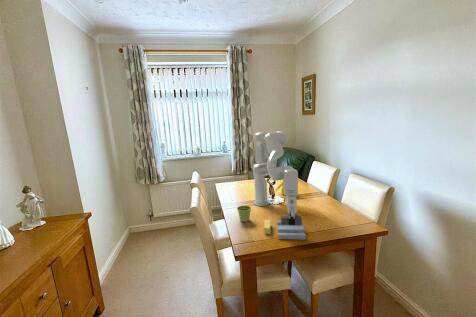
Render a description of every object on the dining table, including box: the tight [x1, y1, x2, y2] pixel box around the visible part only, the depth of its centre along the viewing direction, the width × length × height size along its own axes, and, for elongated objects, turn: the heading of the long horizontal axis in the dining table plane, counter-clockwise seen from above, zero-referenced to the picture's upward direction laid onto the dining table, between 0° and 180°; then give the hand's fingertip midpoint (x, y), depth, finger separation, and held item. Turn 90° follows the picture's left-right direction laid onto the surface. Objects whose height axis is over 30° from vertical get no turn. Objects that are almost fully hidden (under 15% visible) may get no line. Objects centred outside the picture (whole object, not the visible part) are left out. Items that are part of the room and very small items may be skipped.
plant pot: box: [236, 204, 252, 223], centre depth 152 cm, size 9×9×9 cm
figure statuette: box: [274, 180, 285, 196], centre depth 195 cm, size 18×8×22 cm, turn 86°
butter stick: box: [263, 219, 272, 235], centre depth 139 cm, size 11×4×4 cm, turn 173°
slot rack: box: [276, 221, 307, 240], centre depth 134 cm, size 16×15×2 cm
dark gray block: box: [280, 214, 303, 225], centre depth 128 cm, size 11×4×4 cm, turn 82°
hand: (291, 222), depth 128 cm, fingers closed on dark gray block, 3 cm apart
